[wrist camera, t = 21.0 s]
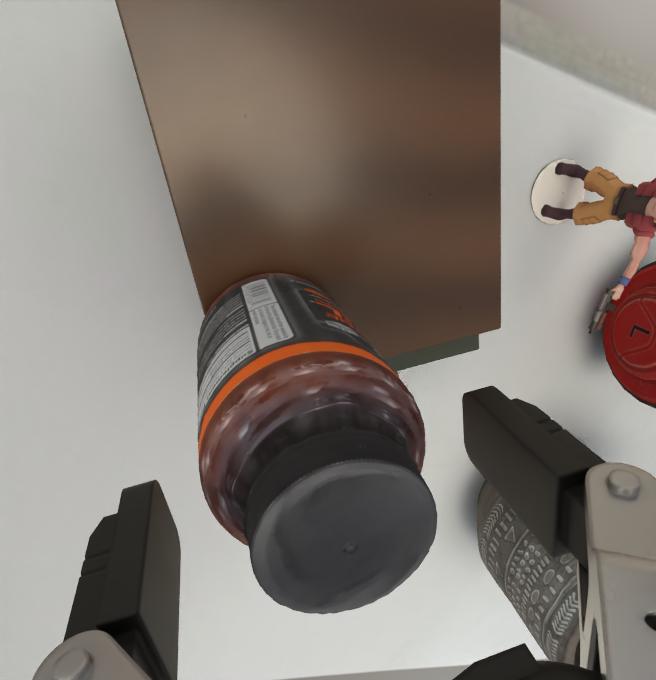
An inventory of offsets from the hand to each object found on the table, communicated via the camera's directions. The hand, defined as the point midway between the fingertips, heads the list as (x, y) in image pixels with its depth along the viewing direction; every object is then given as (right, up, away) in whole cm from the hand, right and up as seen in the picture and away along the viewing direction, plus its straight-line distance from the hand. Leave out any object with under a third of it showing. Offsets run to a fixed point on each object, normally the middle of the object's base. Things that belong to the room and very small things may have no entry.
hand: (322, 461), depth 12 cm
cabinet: (-1, +12, +14) cm, 19 cm away
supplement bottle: (-2, +3, +8) cm, 9 cm away
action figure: (+15, +12, +19) cm, 27 cm away
